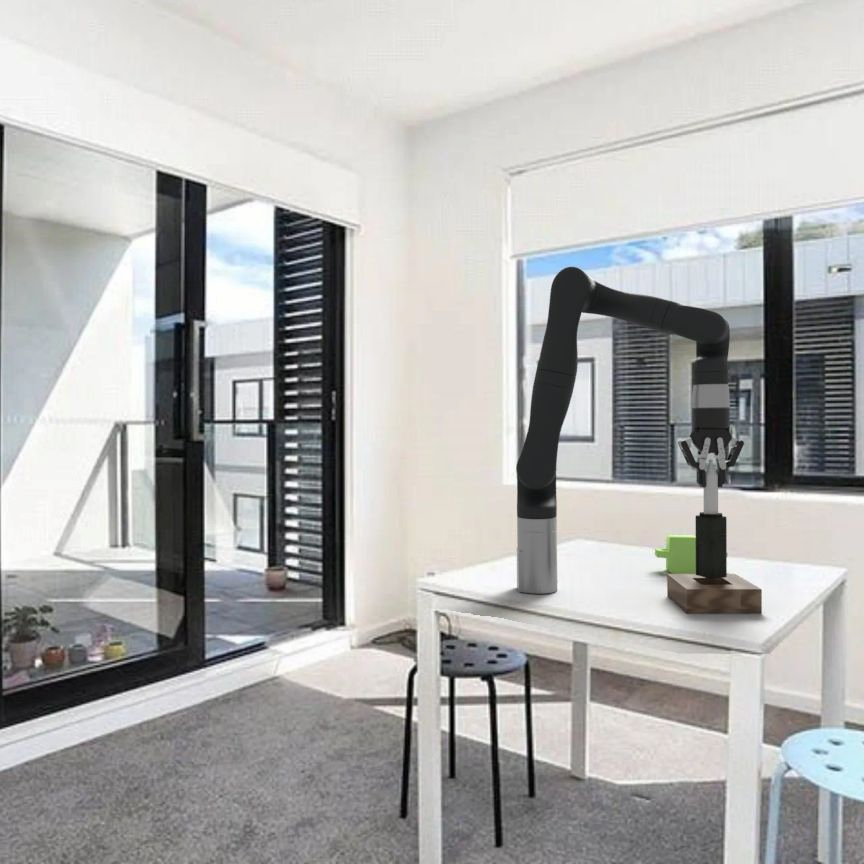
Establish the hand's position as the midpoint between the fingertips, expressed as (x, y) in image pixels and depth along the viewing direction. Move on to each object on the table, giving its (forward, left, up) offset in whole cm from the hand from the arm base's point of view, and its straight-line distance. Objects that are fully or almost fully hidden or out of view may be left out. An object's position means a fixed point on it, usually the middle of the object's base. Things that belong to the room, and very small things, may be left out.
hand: (710, 486), depth 159 cm
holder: (0, 0, -25) cm, 25 cm away
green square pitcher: (+6, +34, -26) cm, 43 cm away
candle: (0, 0, -19) cm, 19 cm away
